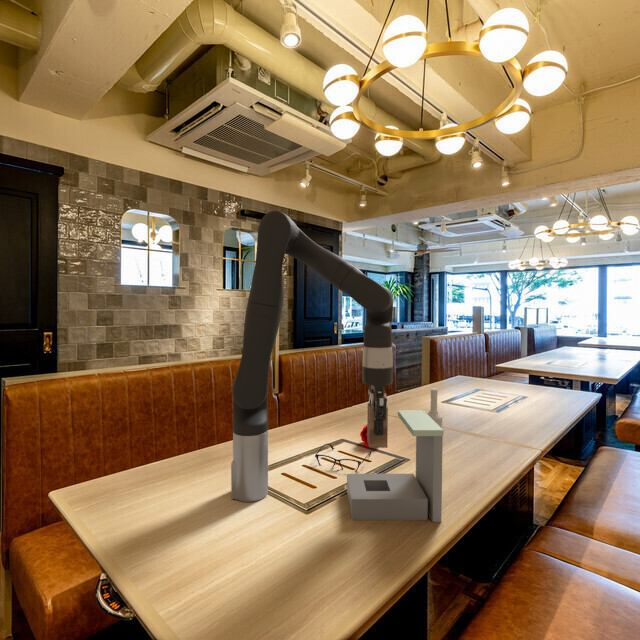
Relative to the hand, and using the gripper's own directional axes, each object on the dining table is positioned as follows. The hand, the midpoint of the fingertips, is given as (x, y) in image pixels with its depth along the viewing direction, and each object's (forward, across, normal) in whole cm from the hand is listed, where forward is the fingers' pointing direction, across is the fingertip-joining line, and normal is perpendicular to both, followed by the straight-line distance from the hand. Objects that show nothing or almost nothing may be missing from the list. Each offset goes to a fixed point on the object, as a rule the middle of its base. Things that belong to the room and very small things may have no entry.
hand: (377, 431), depth 99 cm
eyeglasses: (+20, +29, +6) cm, 36 cm away
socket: (+19, 0, -2) cm, 19 cm away
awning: (+19, 0, -11) cm, 22 cm away
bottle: (+19, +22, -21) cm, 36 cm away
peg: (+3, 0, 0) cm, 3 cm away
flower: (+19, +44, -5) cm, 48 cm away
